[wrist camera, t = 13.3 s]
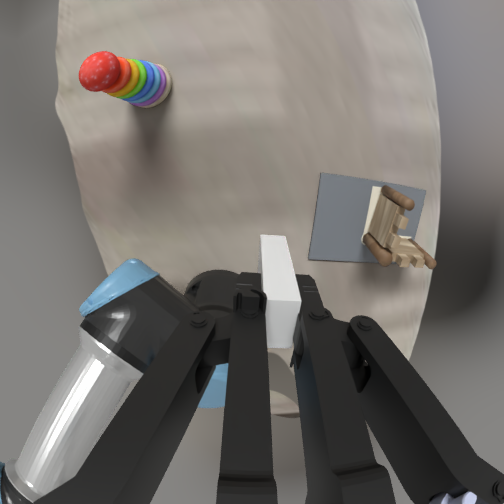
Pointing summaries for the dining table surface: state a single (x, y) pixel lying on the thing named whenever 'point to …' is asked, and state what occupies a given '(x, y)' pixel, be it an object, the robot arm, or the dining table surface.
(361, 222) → the card
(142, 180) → the dining table surface
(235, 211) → the dining table surface
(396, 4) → the dining table surface
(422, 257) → the fixed fence section
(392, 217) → the hinged fence panel
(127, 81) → the stacking toy
